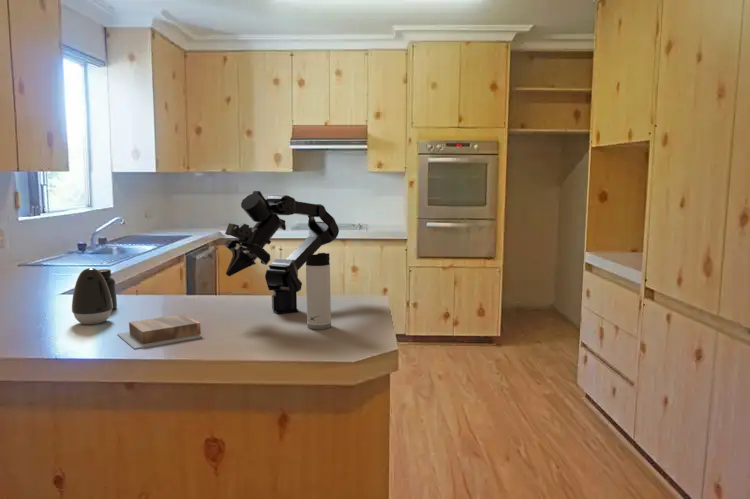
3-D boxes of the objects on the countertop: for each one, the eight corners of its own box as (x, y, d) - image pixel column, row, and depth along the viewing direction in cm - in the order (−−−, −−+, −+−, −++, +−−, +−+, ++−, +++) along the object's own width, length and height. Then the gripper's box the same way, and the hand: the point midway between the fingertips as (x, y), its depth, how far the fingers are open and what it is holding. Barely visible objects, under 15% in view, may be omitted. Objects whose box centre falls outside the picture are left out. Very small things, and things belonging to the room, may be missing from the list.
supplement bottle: (97, 307, 182) (95, 268, 180) (120, 306, 182) (117, 268, 181) (88, 312, 175) (86, 272, 173) (112, 311, 175) (109, 271, 174)
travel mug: (313, 331, 151) (311, 254, 148) (303, 325, 156) (302, 251, 154) (335, 328, 154) (333, 252, 151) (325, 322, 159) (324, 249, 157)
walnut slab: (183, 314, 157) (129, 322, 148) (200, 322, 147) (142, 331, 139) (184, 325, 157) (129, 333, 149) (200, 334, 148) (143, 344, 139)
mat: (180, 324, 158) (180, 323, 158) (201, 337, 146) (201, 336, 146) (117, 334, 149) (117, 333, 149) (134, 349, 136) (134, 348, 136)
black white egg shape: (71, 328, 155) (67, 272, 153) (74, 320, 165) (70, 266, 163) (113, 324, 159) (109, 269, 158) (113, 316, 169) (110, 264, 167)
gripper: (229, 210, 168) (193, 252, 163) (257, 214, 153) (219, 260, 148) (255, 236, 173) (222, 277, 168) (285, 241, 158) (249, 287, 153)
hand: (227, 275), depth 159 cm, fingers closed
